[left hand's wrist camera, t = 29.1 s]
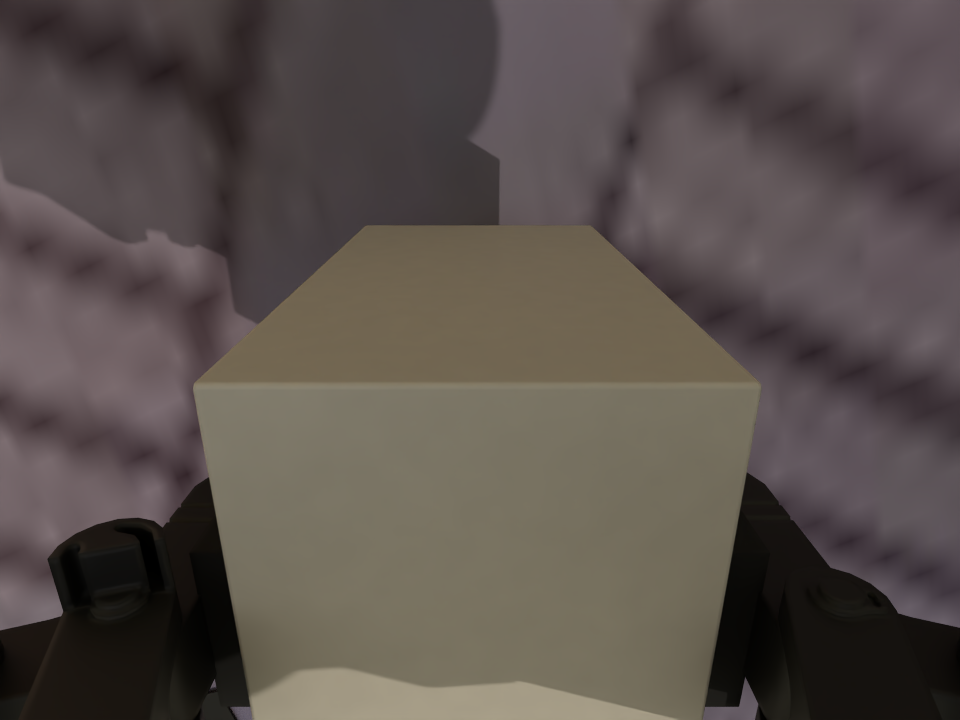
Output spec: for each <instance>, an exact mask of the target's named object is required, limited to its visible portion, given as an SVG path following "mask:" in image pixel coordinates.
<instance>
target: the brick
mask: <svg viewBox="0 0 960 720" xmlns="http://www.w3.org/2000/svg"><path fill="white" fill-rule="evenodd" d="M193 391H194V396H195V402H196V408H197V413H198V419H199V424H200V430H201V435H202V441H203V446H204V452H205V457H206V463H207V468H208V474H209V480H210V485H211V491H212V496H213V502H214V507H215V513H216V518H217V524H218V529H219V535H220V541H221V546H222V552H223V557H224V563H225V568H226V574H227V579H228V585H229V590H230V596H231V601H232V607H233V613H234V618H235V624H236V629H237V635H238V640H239V646H240V651H241V657H242V662H243V668H244V674H245V679H246V685H247V690H248V696H249V701H250V707H251V712H252V718H253V720H703V714H704V709H705V703H706V698H707V692H708V686H709V681H710V675H711V670H712V664H713V658H714V653H715V647H716V641H717V636H718V630H719V625H720V619H721V613H722V608H723V602H724V597H725V591H726V585H727V580H728V574H729V569H730V563H731V557H732V552H733V546H734V540H735V535H736V529H737V524H738V518H739V512H740V507H741V501H742V496H743V490H744V484H745V479H746V473H747V468H748V462H749V456H750V451H751V445H752V439H753V434H754V428H755V423H756V417H757V411H758V406H759V400H760V395H761V384H760V382H759V381H758V380H756V379H755V378H754V377H753V376H752V375H751V374H750V373H749V372H748V371H747V370H746V369H745V368H744V367H742V366H741V365H740V364H739V363H738V362H737V361H736V360H735V359H734V358H733V357H732V356H731V355H730V354H728V353H727V352H726V351H725V350H724V349H723V348H722V347H721V346H720V345H719V344H718V343H717V342H716V341H714V340H713V339H712V338H711V337H710V336H709V335H708V334H707V333H706V332H705V331H704V330H703V329H702V328H700V327H699V326H698V325H697V324H696V323H695V322H694V321H693V320H692V319H691V318H690V317H689V316H688V315H687V314H685V313H684V312H683V311H682V310H681V309H680V308H679V307H678V306H677V305H676V304H675V303H674V302H673V301H671V300H670V299H669V298H668V297H667V296H666V295H665V294H664V293H663V292H662V291H661V290H660V289H659V288H657V287H656V286H655V285H654V284H653V283H652V282H651V281H650V280H649V279H648V278H647V277H646V276H645V275H643V274H642V273H641V272H640V271H639V270H638V269H637V268H636V267H635V266H634V265H633V264H632V263H631V262H629V261H628V260H627V259H626V258H625V257H624V256H623V255H622V254H621V253H620V252H619V251H618V250H617V249H615V248H614V247H613V246H612V245H611V244H610V243H609V242H608V241H607V240H606V239H605V238H604V237H603V236H601V235H600V234H599V233H598V232H597V231H596V230H595V229H594V228H593V227H592V226H590V225H367V226H365V227H364V228H363V229H362V230H360V231H359V232H358V233H357V234H356V235H355V236H354V237H353V238H352V239H351V240H350V241H348V242H347V243H346V244H345V245H344V246H343V247H342V248H341V249H340V250H339V251H338V252H337V253H335V254H334V255H333V256H332V257H331V258H330V259H329V260H328V261H327V262H326V263H325V264H323V265H322V266H321V267H320V268H319V269H318V270H317V271H316V272H315V273H314V274H313V275H312V276H310V277H309V278H308V279H307V280H306V281H305V282H304V283H303V284H302V285H301V286H300V287H298V288H297V289H296V290H295V291H294V292H293V293H292V294H291V295H290V296H289V297H288V298H286V299H285V300H284V301H283V302H282V303H281V304H280V305H279V306H278V307H277V308H276V309H275V310H273V311H272V312H271V313H270V314H269V315H268V316H267V317H266V318H265V319H264V320H263V321H261V322H260V323H259V324H258V325H257V326H256V327H255V328H254V329H253V330H252V331H251V332H249V333H248V334H247V335H246V336H245V337H244V338H243V339H242V340H241V341H240V342H239V343H238V344H236V345H235V346H234V347H233V348H232V349H231V350H230V351H229V352H228V353H227V354H226V355H224V356H223V357H222V358H221V359H220V360H219V361H218V362H217V363H216V364H215V365H214V366H213V367H211V368H210V369H209V370H208V371H207V372H206V373H205V374H204V375H203V376H202V377H201V378H199V379H198V380H197V381H196V382H195V383H194V387H193Z"/></svg>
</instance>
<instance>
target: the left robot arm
mask: <svg viewBox="0 0 960 720" xmlns="http://www.w3.org/2000/svg"><path fill="white" fill-rule="evenodd" d="M48 563H49V566H50V569H51V572H52V576H53V579H54V582H55V585H56V589H57V592H58V595H59V599H60V602H61V605H62V608H63V614H62V616H61V617H57V618H54V619H50V620H46V621H41V622H37V623H32V624H28V625H23V626H19V627H14V628H10V629H5V630H1V631H0V720H205V718H204V713H203V709H202V704H203V702H204V700H205V698H206V696H207V694H208V692H209V689H210V687H211V685H212V683H213V681H214V679H215V682H216V687H217V692H218V697H219V702H220V706H221V707H250V701H249V696H248V690H247V685H246V679H245V674H244V668H243V662H242V657H241V651H240V646H239V640H238V635H237V629H236V624H235V618H234V613H233V607H232V601H231V596H230V590H229V585H228V579H227V574H226V568H225V563H224V557H223V552H222V546H221V541H220V535H219V529H218V524H217V518H216V513H215V507H214V502H213V496H212V491H211V485H210V480H209V477H208V478H207V479H205V480H204V481H202V482H201V483H199V484H198V485H196V486H195V487H194V488H193V490H192V491H191V492H190V493H189V495H188V496H187V497H186V499H185V500H184V501H183V502H182V504H181V508H178V509H177V510H176V511H175V513H174V514H173V515H172V517H171V518H170V522H169V523H166V524H165V525H164V527H163V528H162V527H161V526H160V525H158V524H157V523H156V522H155V521H152V520H147V519H142V518H127V519H117V520H113V521H109V522H105V523H101V524H97V525H95V526H92V527H90V528H88V529H85V530H83V531H81V532H79V533H76V534H75V535H73V536H72V537H70V538H69V539H67V540H66V541H65V542H63V543H62V544H60V545H59V546H58V547H57V548H56V549H55V550H54V552H53V553H52V554H51V555H50V556H49V558H48ZM745 677H746V679H747V681H748V683H749V685H750V687H751V689H752V691H753V694H754V696H755V698H756V700H757V702H758V709H757V713H756V718H755V720H960V628H958V627H953V626H949V625H944V624H940V623H935V622H931V621H926V620H921V619H917V618H912V617H909V616H905V615H902V614H898V613H897V610H896V609H895V608H894V606H893V605H892V603H891V602H890V600H889V599H888V598H887V596H885V595H884V594H883V593H882V592H880V591H879V590H878V589H877V588H875V587H874V586H873V585H872V584H870V583H868V582H866V581H864V580H862V579H860V578H858V577H856V576H854V575H852V574H850V573H847V572H843V571H840V570H836V569H833V568H830V567H829V565H828V564H827V563H826V562H825V560H824V559H823V558H822V556H821V555H820V554H819V553H818V551H817V550H816V549H815V548H814V546H813V545H812V544H811V542H810V541H809V540H808V539H807V537H806V536H805V535H804V534H803V532H802V531H801V530H800V528H799V527H798V526H797V525H796V523H795V522H794V521H793V520H790V516H789V514H788V513H787V512H786V511H785V509H784V508H783V507H782V506H781V505H779V502H778V500H777V499H776V498H775V497H774V495H773V494H772V493H771V492H770V490H769V489H768V488H767V486H766V485H765V484H764V483H762V482H761V481H759V480H758V479H756V478H755V477H753V476H751V475H750V474H748V473H746V479H745V484H744V490H743V496H742V501H741V507H740V512H739V518H738V524H737V529H736V535H735V540H734V546H733V552H732V557H731V563H730V569H729V574H728V580H727V585H726V591H725V597H724V602H723V608H722V613H721V619H720V625H719V630H718V636H717V641H716V647H715V653H714V658H713V664H712V670H711V675H710V681H709V686H708V692H707V698H706V703H705V707H739V704H740V699H741V694H742V689H743V685H744V680H745Z"/></svg>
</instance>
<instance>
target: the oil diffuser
mask: <svg viewBox="0 0 960 720" xmlns="http://www.w3.org/2000/svg"><path fill="white" fill-rule="evenodd" d="M202 709H203V713H204V718H205V720H235V719H234V718H233V716H232V714H231V713H230V711H229V709H228V707H221V706H220V702H219V697H218V692H214V693H209V694H207V696H206V698H205V700H204V702H203V704H202Z"/></svg>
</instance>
